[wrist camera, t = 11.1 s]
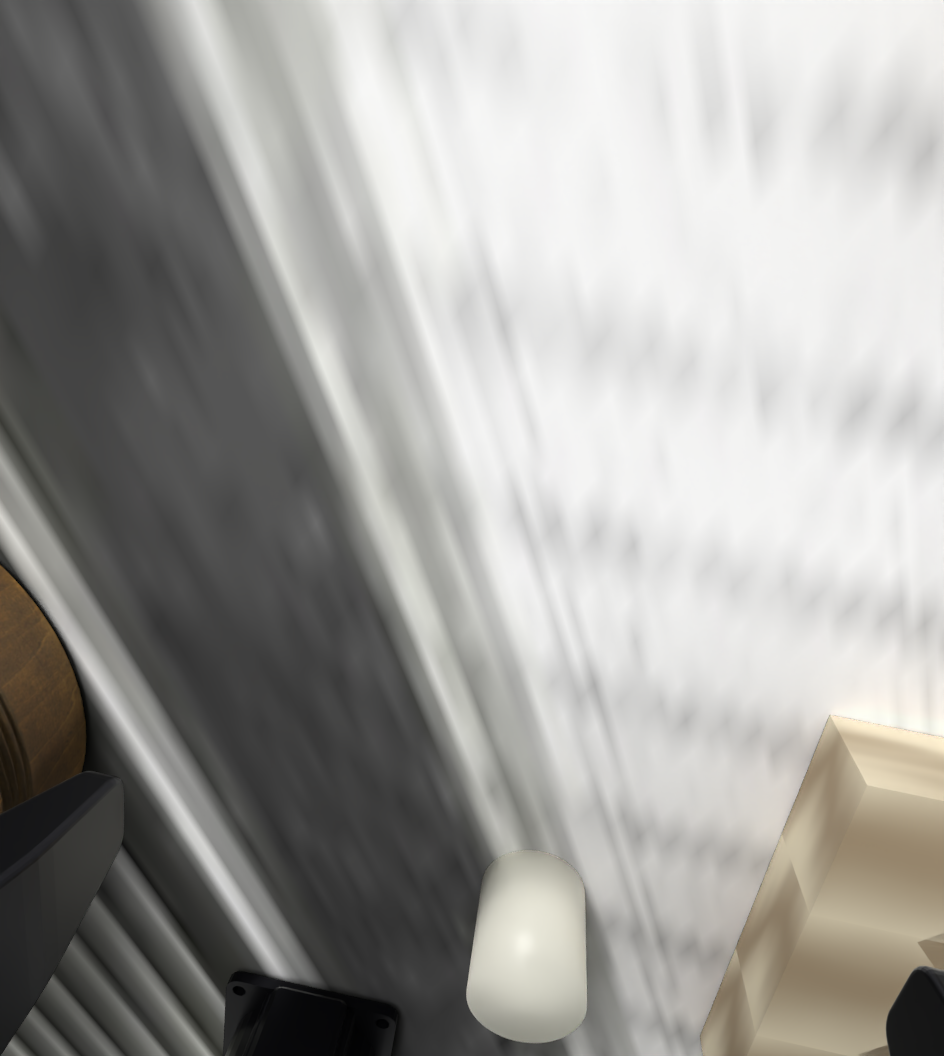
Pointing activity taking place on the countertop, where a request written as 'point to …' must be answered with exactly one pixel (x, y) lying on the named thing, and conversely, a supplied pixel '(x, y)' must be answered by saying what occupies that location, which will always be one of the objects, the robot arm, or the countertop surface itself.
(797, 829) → the hole board
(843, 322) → the countertop surface
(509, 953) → the short cream pin
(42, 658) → the wooden container
